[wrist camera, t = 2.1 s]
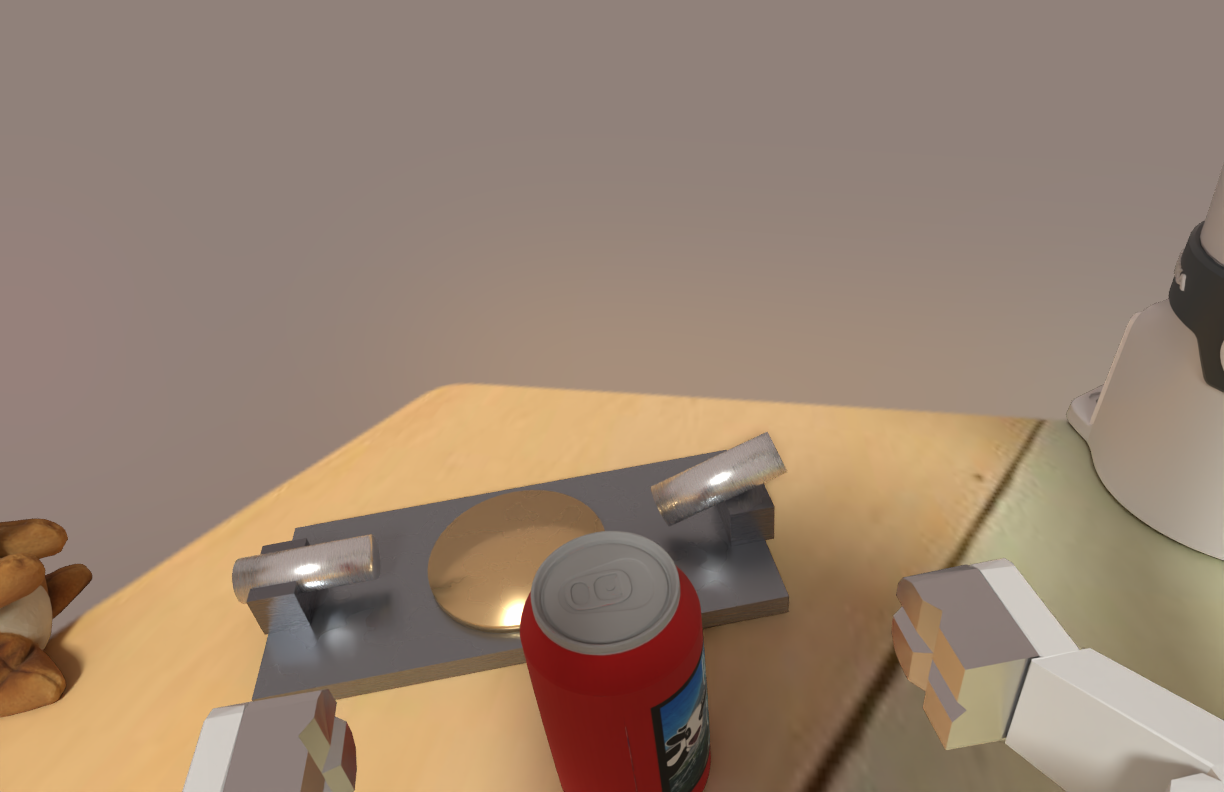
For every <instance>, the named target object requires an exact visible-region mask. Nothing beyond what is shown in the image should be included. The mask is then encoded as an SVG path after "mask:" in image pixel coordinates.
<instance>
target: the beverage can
mask: <svg viewBox="0 0 1224 792" xmlns="http://www.w3.org/2000/svg"><path fill="white" fill-rule="evenodd" d="M520 638H521V644H522V647H523V651H524V655H525V659H526V663H527V667H528V670H529V674H530V678H531V682H532V685H533V689H534V693H535V696H536V700H537V704H538V707H539V711H540V714H541V718H542V722H543V725H544V729H545V732H546V735H547V739H548V742H549V746H550V749H551V753H552V756H553V759H554V763H555V766H556V769H557V773H558V776H559V779H560V782H561V786H562V788H563V791H564V792H702V791H703V789H704V787H705V785H706V782H707V779H708V776H709V771H710V763H711V753H710V730H709V712H708V695H707V680H706V666H705V652H704V640H703V628H702V616H701V606H700V601H699V598H698V595H697V593H696V590H695V588H694V586H693V585H692V583H691V582H690V580H689V579H688V577H687V576H686V575H685V574H684V572H683V571H682V570H681V569H680V568H679V567H677V566H676V565H675V563H674V561H673V560H672V558H671V557H670V555H669V554H668V553H667V552H666V551H665V550H664V549H663V548H662V547H661V546H659V545H658V544H657V543H655V542H654V541H652V540H650V539H648V538H646V537H643V536H641V535H637V534H634V533H629V532H623V531H602V532H595V533H591V534H586V535H583V536H580V537H578V538H575V539H573V540H571V541H569V542H567V543H565V544H563V545H562V546H560V547H559V548H557V549H556V550H555V551H554V552H552V553H551V554H550V555H549V556H548V557H547V558H546V559H545V561H544V562H543V563H542V564H541V566H540V567H539V569H538V571H537V572H536V575H535V577H534V580H533V582H532V587H531V591H530V593H529V595H528V597H527V599H526V601H525V604H524V607H523V610H522V614H521V619H520Z"/></svg>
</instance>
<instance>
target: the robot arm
mask: <svg viewBox="0 0 1224 792" xmlns="http://www.w3.org/2000/svg"><path fill="white" fill-rule="evenodd" d="M1174 271H1175V272H1174V274H1175V276H1174V279H1173V282H1172V285H1171V288H1170V291H1169V298H1168V299H1166V300H1164V301H1162V302H1158V303H1155V304H1153V305H1151V306H1149V307H1147V308H1146V309H1145V310H1144V311H1142V312H1137V313H1135V314H1134V315H1133V316H1132V317H1131V319H1130V320H1129V322H1128V324H1127V327H1126V329H1125V332H1124V335H1123V337H1122V339H1121V342H1120V345H1119V347H1118V350H1117V352H1116V355H1115V357H1114V360H1113V362H1112V365H1111V368H1110V370H1109V373H1108V376H1107V378H1106V381H1105V383H1104V384H1103V385H1101V386H1099V387H1097V388H1095V389H1093V390H1091V391H1089V392H1087V393H1085V394H1083V395H1081V396H1079V397H1077V398H1075V399H1074V400H1073V401H1072V402H1071V404H1070V406H1069V409H1068V411H1067V414H1066V417H1067V419H1068V421H1069V423H1070V424H1071V425H1072V426H1073V428H1074V429H1075V430H1076V431H1077V432H1078V433H1079V434H1080V435H1081V436H1082V437H1083V438H1084V439H1085V440H1086V441H1087V443H1088V445H1089V447H1090V450H1091V454H1092V458H1093V463H1094V466H1095V469H1096V471H1097V473H1098V476H1099V477H1100V479H1101V481H1102V482H1103V484H1104V485H1105V487H1106V488H1107V489H1108V491H1109V492H1110V493H1111V494H1112V495H1113V496H1114V497H1115V498H1116V499H1117V500H1118V502H1120V503H1121V504H1122V505H1123V506H1124V507H1125V508H1126V509H1127V510H1129V511H1130V512H1131V513H1132V514H1133V515H1135V516H1136V517H1137V518H1139V519H1140V520H1142V521H1143V522H1144V523H1146V524H1147V525H1149V526H1150V527H1152V528H1154V529H1155V530H1157V531H1159V532H1160V533H1162V534H1164V535H1166V536H1168V537H1169V538H1171V539H1173V540H1175V541H1177V542H1179V543H1181V544H1183V545H1186V546H1188V547H1190V548H1192V549H1195V550H1197V551H1200V552H1202V553H1204V554H1207V555H1210V556H1213V557H1215V558H1218V559H1221V560H1224V163H1223V166H1222V169H1221V173H1220V176H1219V179H1218V183H1217V186H1216V189H1215V192H1214V195H1213V199H1212V202H1211V205H1210V207H1209V210H1208V214H1207V216H1206V219H1205V221H1203V222H1201V223H1199V225H1197V226H1196V227H1195V228H1194V229H1193V231H1192V232H1191V234H1190V237H1189V239H1188V242H1187V244H1186V247H1185V249H1183V250H1182V251H1181V253H1180V256H1179V258H1178V261H1177V263H1176V266H1175V270H1174ZM896 596H897V598H898V599H899V601H900V603H901V605H902V607H901V608H900V609H899V610H898V611H897V612H896V613H895V614H894V615H893V622H892V637H893V643H894V649H895V652H896V655H897V657H898V660H899V663H900V665H901V667H902V669H903V671H904V673H905V675H906V677H907V679H908V680H909V681H910V682H912V683H913V684H915V685H916V686H918V687H919V688H921V689H922V690H924V691H925V692H926V693H925V698H924V704H923V709H924V711H925V713H926V715H927V717H928V719H929V720H930V722H931V724H932V726H933V728H934V730H935V732H936V733H937V735H938V737H939V739H940V741H941V743H942V745H943V746H944V748H945V750H950V749H956V748H962V747H968V746H973V745H979V744H985V743H990V742H996V741H1002V740H1006V741H1005V744H1006V745H1008V746H1009V747H1010V748H1011V749H1013V750H1014V751H1015V752H1017V753H1018V754H1019V755H1020V756H1022V757H1023V758H1024V759H1025V760H1027V761H1028V762H1029V763H1031V764H1032V765H1033V766H1034V767H1036V768H1037V769H1038V770H1040V771H1041V772H1042V773H1043V774H1045V775H1046V776H1047V777H1048V778H1050V779H1051V780H1052V781H1054V782H1055V783H1056V784H1057V785H1059V786H1060V787H1061V788H1062V789H1064V790H1065V791H1066V792H1224V720H1222V719H1220V718H1218V717H1216V716H1214V715H1213V714H1211V713H1209V712H1207V711H1205V710H1203V709H1202V708H1200V707H1198V706H1196V705H1194V704H1192V703H1191V702H1189V701H1187V700H1185V699H1183V698H1181V697H1180V696H1178V695H1176V694H1174V693H1172V692H1170V691H1169V690H1167V689H1165V688H1163V687H1161V686H1159V685H1158V684H1156V683H1154V682H1152V681H1150V680H1148V679H1147V678H1145V677H1143V676H1141V675H1139V674H1137V673H1135V672H1134V671H1132V670H1130V669H1128V668H1126V667H1124V666H1123V665H1121V664H1119V663H1117V662H1115V661H1113V660H1112V659H1110V658H1108V657H1106V656H1104V655H1102V654H1101V653H1099V652H1097V651H1095V650H1093V649H1091V648H1085V649H1079V648H1078V647H1077V645H1076V644H1075V643H1074V641H1073V640H1072V639H1071V638H1070V636H1069V635H1068V634H1067V632H1066V631H1065V630H1064V629H1063V627H1062V626H1061V625H1060V623H1059V622H1058V621H1057V620H1056V618H1055V617H1054V616H1053V614H1052V613H1051V612H1050V611H1049V609H1048V608H1047V607H1046V605H1045V604H1044V603H1043V601H1042V600H1041V599H1040V598H1039V596H1038V595H1037V594H1036V592H1035V591H1034V590H1033V589H1032V587H1031V586H1030V585H1029V583H1028V582H1027V581H1026V580H1025V578H1024V577H1023V576H1022V574H1021V573H1020V572H1019V571H1018V569H1017V568H1016V567H1015V565H1014V564H1013V563H1012V562H1010V561H1009V560H1007V559H1005V558H1003V559H996V560H991V561H986V562H981V563H976V564H971V565H961V566H957V567H952V568H947V569H942V570H937V571H932V572H928V573H923V574H918V575H913V576H908V577H903V578H902V579H901V581H900V582H899V583H898V588H897V594H896ZM336 704H337V702H336V701H335V699H334V697H333V696H332V694H331V692H330V691H329V689H325V690H319V691H313V692H307V693H301V694H295V695H289V696H283V697H277V698H271V699H265V700H259V701H253V702H247V703H241V704H236V705H231V706H225V707H220V708H214V709H212V711H211V712H210V714H209V715H208V717H207V718H206V719H205V721H204V723H203V726H202V729H201V733H200V736H199V739H198V742H197V746H196V749H195V752H194V755H193V759H192V762H191V765H190V768H189V772H188V775H187V778H186V781H185V785H184V788H183V791H182V792H354V790H355V781H356V772H357V765H356V747H355V743H354V739H353V735H352V732H351V730H350V728H349V726H348V724H347V722H346V721H344V720H342V719H339V718H337V717H335V711H336Z"/></svg>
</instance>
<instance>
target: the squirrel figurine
mask: <svg viewBox="0 0 1224 792" xmlns="http://www.w3.org/2000/svg"><path fill="white" fill-rule="evenodd" d="M67 540H68V537H67V534H66V532H65V530H64V529H63V528H62V527H61V526H60V525H58V524H56V523H54V522H51V521H49V520H46V519H26V520H18V521H9V522H0V717H5V716H10V715H14V714H18V713H22V712H26V711H29V710H33V709H36V708H39V707H42V706H46V705H50V704H52V703H54V702H55V701H57V700H58V699H59V698H60V696H61V694H62V692H63V691H64V689H65V687H66V682H65V679H64V677H63V675H62V673H61V672H60V670H59V669H58V668H57V666H56V664H55V663H54V662H53V661H52V660H51V658H50V657H49V656H48V655H47V654H45V653H44V652H43V649H44V648H45V647H46V645H47V643H48V640H49V638H50V635H51V628H52V619H53V618H55V617H56V616H57V615H58V614H59V613H61V612H62V611H63V609H65V607H67V606H68V604H70V602H71V601H72V600H73V599H74V598H75V597H76V596H77V595H78V594H79V593H80V592H81V591H82V590H83V589H84V588H85V587H86V586H87V585H88V584H89V583H90V581H91V580H92V573H91V572H90V570H89V569H88V568H87V567H86V566H85V565H83V564H73V565H69V566H65V567H63V568H60V569H58V570H56V571H54V572H52V573H50V574H47V575H45V568H44V565H43V564H42V562H41V561H40V560H39V559H40V558H44V557H48V556H52V555H55V554H57V553H59V552H61V551H62V549H63V546H64V545H65V543H66V541H67Z"/></svg>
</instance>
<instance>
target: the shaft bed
mask: <svg viewBox="0 0 1224 792" xmlns="http://www.w3.org/2000/svg"><path fill="white" fill-rule="evenodd" d="M784 473H787V470H786V468H785V466H784V464H783V462H782V460H781V458H780V456H779V454H778V452H777V450H776V448H775V446H774V444H773V442H772V440H771V438H770V436H769V434H768V432H766V433H763V434H761V435H759V436H757V437H755V438H753V439H751V440H749V441H747V442H744V443H742V444H740V445H738V446H736V447H734V448H732V449H730V450H728V451H727V450H723V451H718V452H712V453H707V454H701V455H696V456H690V457H685V458H679V459H674V460H668V461H663V462H657V463H652V464H646V465H641V466H635V467H630V468H624V469H619V470H613V471H608V472H602V473H597V474H591V475H586V476H580V477H575V478H569V479H564V480H558V481H553V482H547V483H542V484H536V485H531V486H525V487H520V488H514V489H509V490H503V491H498V492H492V493H487V494H481V495H476V496H470V497H464V498H459V499H453V500H448V501H442V502H437V503H431V504H426V505H420V506H415V507H409V508H404V509H398V510H393V511H387V512H382V513H376V514H371V515H365V516H360V517H354V518H349V519H343V520H338V521H332V522H327V523H321V524H316V525H310V526H305V527H299V528H295V532H294V536H293V540H292V541H287V542H282V543H277V544H271V545H266V546H263V547H262V551H261V554H260V555H256V556H250V557H245V558H239V559H237V560H236V562H235V564H234V567H233V573H232V582H233V588H234V592H235V595H236V597H237V599H238V600H239V601H240V602H241V603H242V604H246V603H247V604H248V606H249V608H250V610H251V611H252V613H253V615H254V617H255V618H256V620H257V622H258V624H259V625H260V627H261V629H262V631H263V632H264V634H268V638H267V642H266V646H265V650H264V654H263V658H262V662H261V666H260V670H259V674H258V678H257V681H256V685H255V689H254V693H253V697H252V701H259V700H265V699H271V698H277V697H283V696H289V695H295V694H301V693H307V692H313V691H319V690H325V689H329V691H330V692H331V694H332V696H333V697H334V699H335V700H336V699H341V698H346V697H352V696H357V695H362V694H367V693H372V692H377V691H382V690H388V689H393V688H398V687H403V686H408V685H413V684H418V683H424V682H429V681H434V680H439V679H444V678H449V677H454V676H460V675H465V674H470V673H475V672H480V671H485V670H490V669H496V668H501V667H506V666H511V665H516V664H521V663H526V659H525V655H524V651H523V647H522V644H521V638H520V619H521V614H522V610H523V607H524V604H525V601H526V599H527V597H528V595H529V593H530V591H531V587H532V582H533V580H534V577H535V575H536V572H537V571H538V569H539V567H540V566H541V564H542V563H543V562H544V561H545V559H546V558H547V557H548V556H549V555H550V554H551V553H552V552H554V551H555V550H556V549H557V548H559V547H560V546H562V545H563V544H565V543H567V542H569V541H571V540H573V539H575V538H578V537H580V536H583V535H586V534H591V533H595V532H602V531H623V532H629V533H634V534H637V535H641V536H643V537H646V538H648V539H650V540H652V541H654V542H655V543H657V544H658V545H659V546H661V547H662V548H663V549H664V550H665V551H666V552H667V553H668V554H669V555H670V557H671V558H672V560H673V561H674V563H675V565H676V566H677V567H679V568H680V569H681V570H682V571H683V572H684V574H685V575H686V576H687V577H688V579H689V580H690V582H691V583H692V585H693V586H694V588H695V590H696V593H697V595H698V598H699V601H700V606H701V616H702V628H707V627H712V626H717V625H722V624H727V623H732V622H738V621H743V620H748V619H753V618H758V617H763V616H768V615H774V614H779V613H784V612H788V608H789V595H788V593H787V591H786V588H785V586H784V584H783V581H782V579H781V577H780V574H779V572H778V570H777V567H776V565H775V562H774V560H773V558H772V555H771V553H770V551H769V548H768V546H767V544H766V541H765V540H769V539H774V505H773V503H772V501H771V498H770V496H769V494H768V492H767V490H766V488H765V485H764V483H765V482H767V481H769V480H771V479H774V478H776V477H778V476H780V475H782V474H784Z"/></svg>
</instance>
